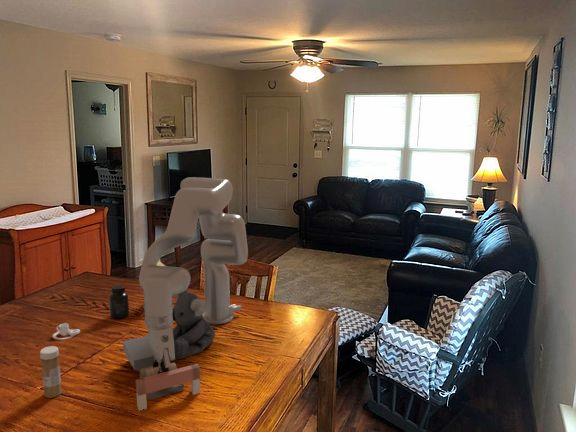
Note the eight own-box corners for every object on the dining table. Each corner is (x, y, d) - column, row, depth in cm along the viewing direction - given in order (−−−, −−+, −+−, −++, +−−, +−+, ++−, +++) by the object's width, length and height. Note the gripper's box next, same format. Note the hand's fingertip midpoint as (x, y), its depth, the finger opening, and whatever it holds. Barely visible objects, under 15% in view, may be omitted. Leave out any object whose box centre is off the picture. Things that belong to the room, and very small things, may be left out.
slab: (161, 341, 157) (160, 332, 157) (175, 360, 146) (174, 350, 145) (123, 350, 151) (122, 341, 151) (134, 370, 140) (133, 360, 139)
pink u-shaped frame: (197, 389, 138) (196, 363, 136) (200, 392, 136) (199, 366, 135) (137, 407, 129) (135, 379, 128) (139, 411, 128) (137, 383, 126)
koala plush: (154, 342, 166) (152, 288, 162) (202, 329, 176) (200, 278, 172) (175, 363, 152) (173, 305, 148) (225, 348, 163) (224, 293, 159)
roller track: (157, 352, 159) (156, 340, 158) (183, 389, 138) (183, 376, 137) (126, 360, 154) (125, 348, 153) (148, 400, 132) (147, 386, 132)
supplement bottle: (110, 314, 189) (108, 284, 186) (129, 312, 191) (127, 283, 188) (110, 321, 182) (108, 290, 180) (129, 318, 185) (127, 289, 182)
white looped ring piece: (83, 333, 173) (83, 323, 172) (65, 343, 166) (64, 331, 165) (66, 329, 176) (65, 318, 175) (47, 337, 169) (46, 327, 168)
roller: (173, 373, 141) (172, 360, 141) (177, 379, 138) (177, 366, 137) (145, 380, 137) (145, 367, 136) (149, 386, 134) (148, 373, 133)
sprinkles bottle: (41, 394, 135) (36, 349, 132) (57, 387, 138) (53, 343, 135) (48, 400, 132) (44, 355, 129) (65, 393, 135) (61, 349, 132)
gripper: (182, 327, 129) (184, 389, 133) (163, 306, 143) (165, 363, 147) (154, 333, 125) (157, 397, 129) (137, 311, 139) (140, 369, 143)
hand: (161, 378), depth 138 cm, fingers closed on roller, 4 cm apart
